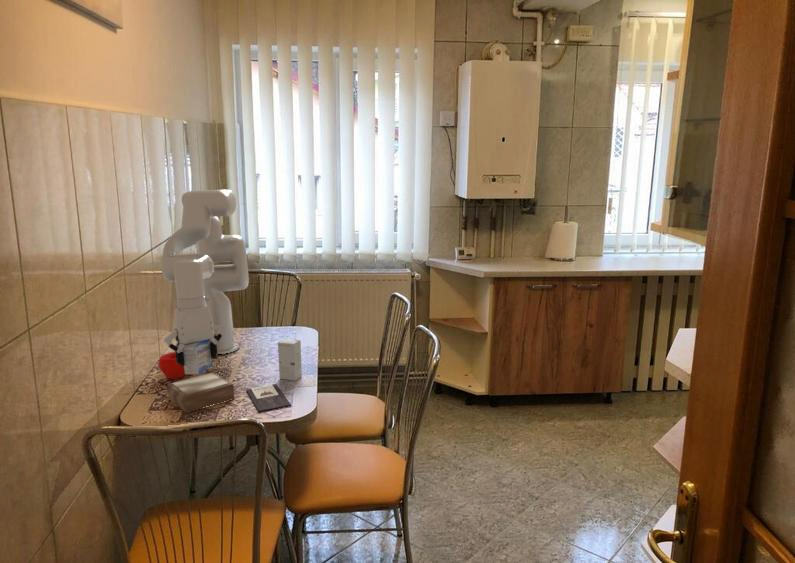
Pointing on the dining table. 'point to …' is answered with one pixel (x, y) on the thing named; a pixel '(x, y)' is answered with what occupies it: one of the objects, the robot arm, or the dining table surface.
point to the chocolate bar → (268, 398)
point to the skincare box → (289, 359)
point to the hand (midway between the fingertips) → (197, 360)
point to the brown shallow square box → (200, 391)
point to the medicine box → (197, 357)
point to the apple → (171, 366)
